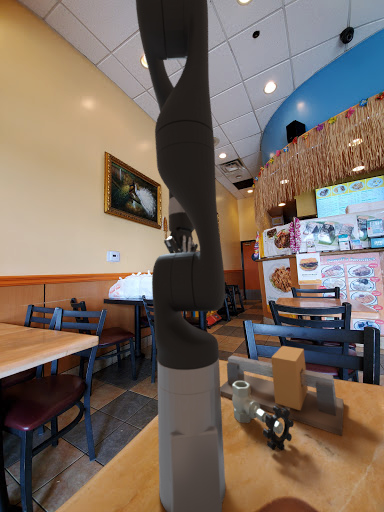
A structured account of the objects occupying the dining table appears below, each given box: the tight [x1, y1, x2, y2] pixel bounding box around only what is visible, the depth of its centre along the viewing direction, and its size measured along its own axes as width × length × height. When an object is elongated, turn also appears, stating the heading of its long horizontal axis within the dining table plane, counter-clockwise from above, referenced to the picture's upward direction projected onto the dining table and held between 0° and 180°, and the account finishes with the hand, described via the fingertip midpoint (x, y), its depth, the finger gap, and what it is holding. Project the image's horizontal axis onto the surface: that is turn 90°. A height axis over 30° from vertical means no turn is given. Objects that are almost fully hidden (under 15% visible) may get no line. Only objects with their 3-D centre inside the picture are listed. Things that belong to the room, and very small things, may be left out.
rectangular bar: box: [226, 355, 337, 416], centre depth 51 cm, size 24×4×7 cm, turn 53°
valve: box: [231, 381, 295, 452], centre depth 41 cm, size 7×7×12 cm
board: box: [220, 373, 345, 436], centre depth 50 cm, size 26×12×1 cm, turn 53°
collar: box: [271, 345, 309, 410], centre depth 49 cm, size 5×10×10 cm, turn 143°
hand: (183, 274), depth 59 cm, fingers closed
